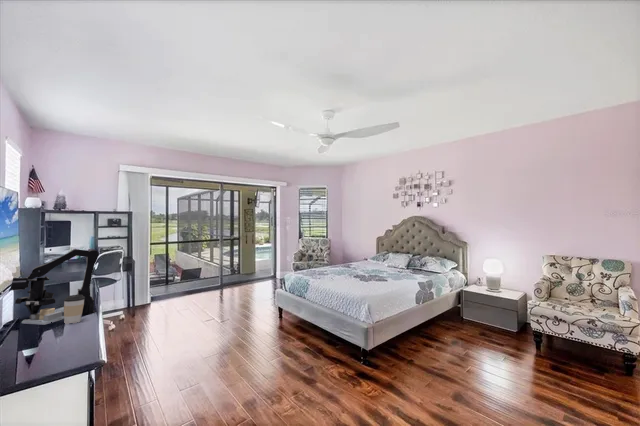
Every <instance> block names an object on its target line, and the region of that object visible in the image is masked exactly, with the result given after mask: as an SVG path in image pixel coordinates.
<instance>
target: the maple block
mask: <svg viewBox="0 0 640 426" xmlns="http://www.w3.org/2000/svg"><path fill="white" fill-rule="evenodd" d="M55 310H56V308H55V307H53V308H52V307H45V308H42V309H41V308H40V309H39V313H40V316H39V320H44V315H47V314H51V313H54V312H56V311H55Z"/></svg>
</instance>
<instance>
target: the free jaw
mask: <svg viewBox="0 0 640 426" xmlns="http://www.w3.org/2000/svg"><path fill="white" fill-rule="evenodd" d="M39 316H40V312H37V313H36V314H32V315H31V314H30V315H29V319H31V320H39Z"/></svg>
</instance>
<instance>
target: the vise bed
mask: <svg viewBox="0 0 640 426" xmlns="http://www.w3.org/2000/svg"><path fill="white" fill-rule="evenodd" d="M61 320H64V315H63V311H58V310H57V311H55V312H54V313H51V314H47V315H44V320H31V318H29V319H23V320H22V321H21V324H25V325H26V324H27V325H41V326H42V325H43V326H44V325H48V324H52V323H55V322H58V321H61ZM51 322H52V323H51Z"/></svg>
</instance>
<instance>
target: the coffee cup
mask: <svg viewBox="0 0 640 426" xmlns="http://www.w3.org/2000/svg"><path fill="white" fill-rule="evenodd" d="M84 299H85V297H84V296H83V295H77V294H72V295H68V296H66V298H64V299H63V303H64V304H63V316H64V319H63V322H64V323H65V324H64V325H70V324H69V323H73V324H77V322H78V323H80V322H81V320H82V315H83V314H82V311H83V306H84Z"/></svg>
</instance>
